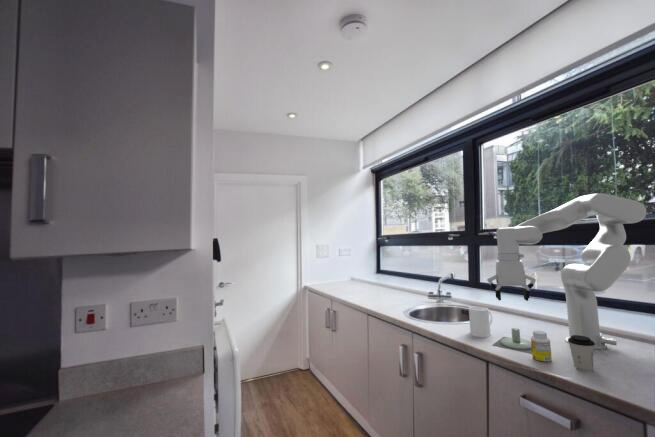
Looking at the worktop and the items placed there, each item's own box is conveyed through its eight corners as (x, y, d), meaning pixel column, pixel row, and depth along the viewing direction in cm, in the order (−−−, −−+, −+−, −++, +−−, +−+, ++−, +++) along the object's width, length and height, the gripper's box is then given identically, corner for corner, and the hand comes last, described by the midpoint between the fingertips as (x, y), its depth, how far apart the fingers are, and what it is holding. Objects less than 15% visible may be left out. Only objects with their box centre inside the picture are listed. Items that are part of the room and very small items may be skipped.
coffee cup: (603, 372, 98) (600, 340, 98) (583, 374, 97) (580, 341, 98) (583, 363, 104) (580, 333, 105) (564, 365, 104) (561, 335, 105)
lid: (536, 343, 123) (535, 328, 123) (528, 351, 115) (527, 335, 116) (506, 338, 131) (505, 323, 131) (497, 345, 123) (495, 330, 124)
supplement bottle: (535, 357, 111) (532, 328, 112) (553, 361, 107) (551, 331, 108) (530, 362, 108) (528, 332, 108) (550, 366, 104) (547, 335, 104)
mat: (542, 345, 123) (542, 343, 123) (532, 355, 113) (532, 353, 113) (503, 338, 133) (503, 336, 133) (491, 346, 123) (491, 345, 123)
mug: (487, 330, 144) (484, 304, 144) (501, 336, 136) (499, 308, 136) (465, 333, 141) (463, 307, 141) (479, 339, 132) (477, 311, 133)
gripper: (530, 256, 126) (534, 298, 125) (484, 257, 132) (487, 297, 130) (536, 257, 119) (540, 302, 118) (487, 258, 124) (490, 301, 123)
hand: (512, 299), depth 124 cm, fingers open, 9 cm apart
